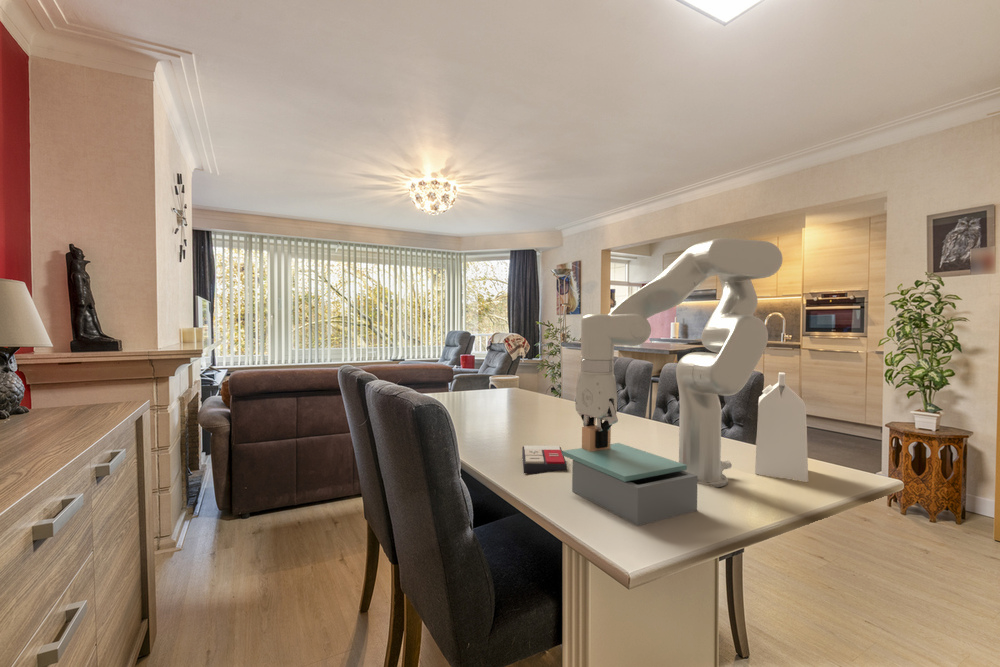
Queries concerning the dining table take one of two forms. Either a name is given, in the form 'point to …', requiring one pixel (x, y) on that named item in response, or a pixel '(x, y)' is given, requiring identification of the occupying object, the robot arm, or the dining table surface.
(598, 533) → the dining table surface
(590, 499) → the tub
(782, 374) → the milk
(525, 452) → the calculator
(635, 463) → the lid
